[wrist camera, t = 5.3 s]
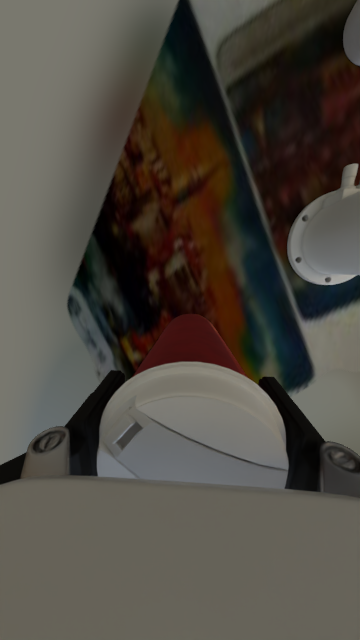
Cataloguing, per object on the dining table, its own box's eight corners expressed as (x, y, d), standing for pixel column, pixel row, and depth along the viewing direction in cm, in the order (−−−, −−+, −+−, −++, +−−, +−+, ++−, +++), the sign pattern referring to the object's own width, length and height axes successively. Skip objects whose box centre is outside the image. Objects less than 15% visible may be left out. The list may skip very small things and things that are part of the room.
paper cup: (140, 342, 20) (43, 482, 7) (185, 287, 19) (173, 332, 5) (195, 384, 21) (203, 578, 8) (242, 335, 20) (359, 479, 6)
